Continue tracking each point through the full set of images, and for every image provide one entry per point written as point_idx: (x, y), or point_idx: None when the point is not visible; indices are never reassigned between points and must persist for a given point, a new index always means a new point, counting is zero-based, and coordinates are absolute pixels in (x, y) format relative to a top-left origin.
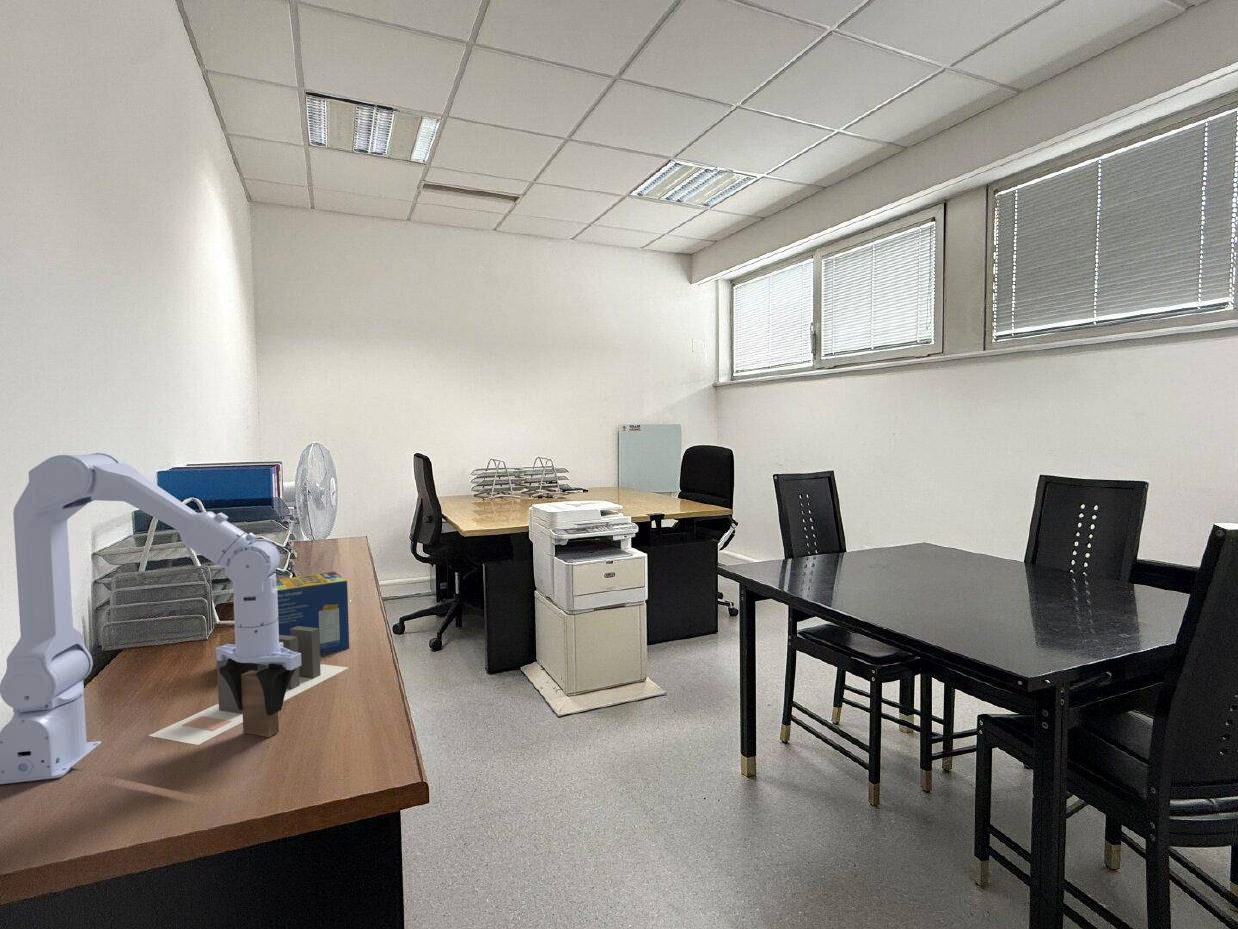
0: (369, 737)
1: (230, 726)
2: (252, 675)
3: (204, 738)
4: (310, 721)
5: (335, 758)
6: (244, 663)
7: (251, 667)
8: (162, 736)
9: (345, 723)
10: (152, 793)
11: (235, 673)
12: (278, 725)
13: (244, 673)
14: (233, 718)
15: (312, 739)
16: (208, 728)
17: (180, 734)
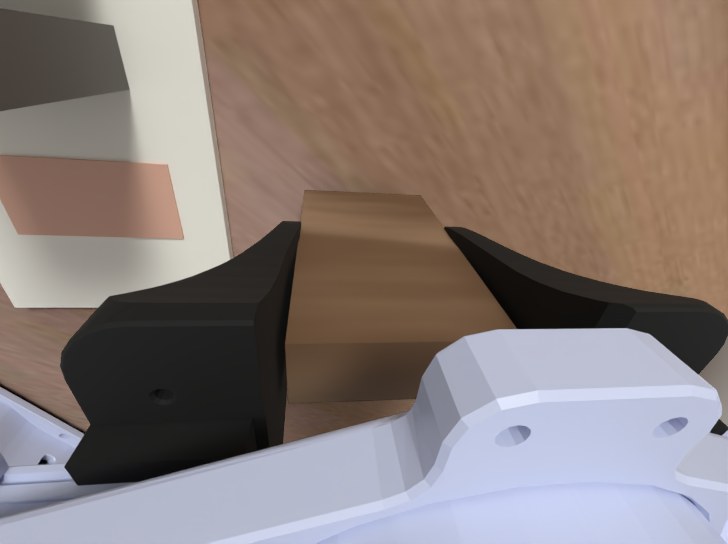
0: (720, 125)
1: (208, 198)
2: (380, 395)
3: None
4: (460, 50)
5: (637, 249)
6: (268, 443)
7: (271, 347)
8: (67, 301)
9: (615, 35)
10: (329, 415)
11: (280, 444)
12: (426, 204)
13: (295, 390)
14: (142, 138)
15: (536, 179)
16: (151, 233)
17: (105, 279)
